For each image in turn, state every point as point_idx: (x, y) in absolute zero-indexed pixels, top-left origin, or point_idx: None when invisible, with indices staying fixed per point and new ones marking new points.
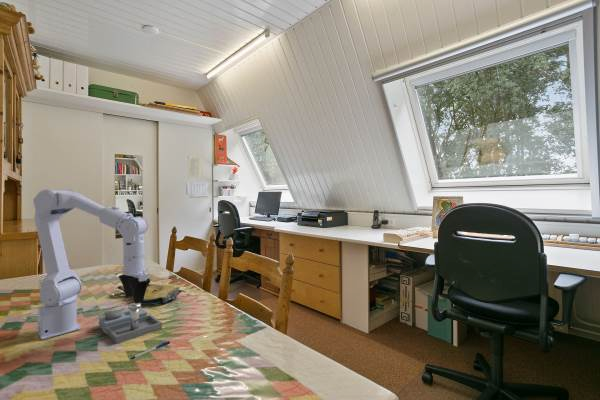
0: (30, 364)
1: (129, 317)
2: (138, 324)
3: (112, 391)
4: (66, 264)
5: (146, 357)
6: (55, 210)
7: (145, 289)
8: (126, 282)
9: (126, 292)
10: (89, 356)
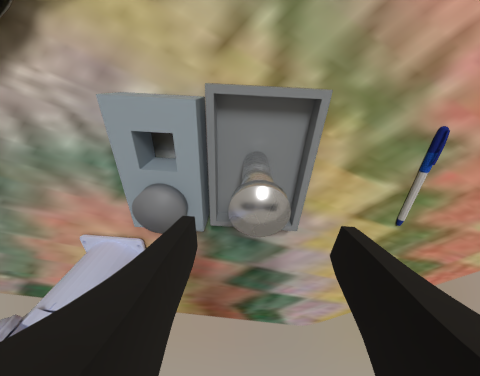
0: (244, 304)
1: (200, 169)
2: (267, 161)
3: (456, 274)
4: None
5: (431, 203)
6: None
7: (460, 309)
8: (154, 360)
9: (188, 274)
10: (299, 261)
